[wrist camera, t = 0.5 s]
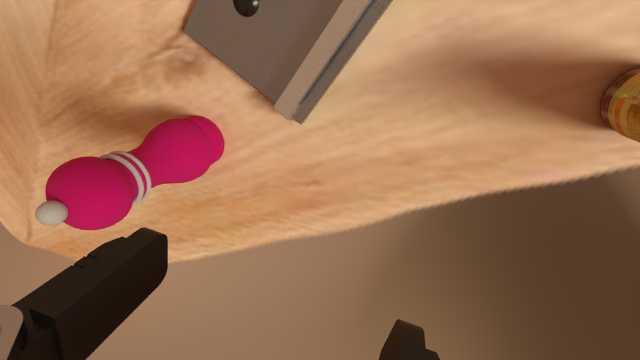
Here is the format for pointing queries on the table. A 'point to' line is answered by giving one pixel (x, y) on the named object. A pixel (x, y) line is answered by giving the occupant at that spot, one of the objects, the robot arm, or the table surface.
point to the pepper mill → (129, 174)
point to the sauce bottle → (623, 105)
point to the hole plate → (285, 43)
